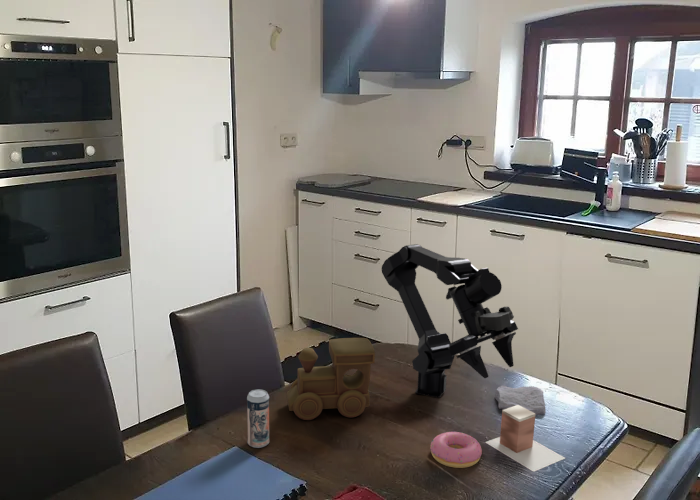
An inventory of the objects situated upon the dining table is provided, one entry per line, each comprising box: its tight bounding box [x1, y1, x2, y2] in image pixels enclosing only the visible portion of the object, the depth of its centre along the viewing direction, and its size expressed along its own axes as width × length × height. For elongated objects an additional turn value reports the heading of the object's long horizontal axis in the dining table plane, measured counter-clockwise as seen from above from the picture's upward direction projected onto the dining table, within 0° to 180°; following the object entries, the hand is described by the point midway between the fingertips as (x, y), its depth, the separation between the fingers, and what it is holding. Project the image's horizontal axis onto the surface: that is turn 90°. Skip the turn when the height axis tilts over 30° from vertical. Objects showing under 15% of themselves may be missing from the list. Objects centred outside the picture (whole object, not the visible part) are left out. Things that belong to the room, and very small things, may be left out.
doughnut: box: [429, 431, 483, 469], centre depth 147 cm, size 11×11×4 cm
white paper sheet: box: [485, 436, 566, 473], centre depth 151 cm, size 14×10×1 cm
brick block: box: [499, 405, 536, 453], centre depth 152 cm, size 5×5×8 cm
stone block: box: [494, 385, 547, 416], centre depth 171 cm, size 12×5×10 cm
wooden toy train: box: [286, 337, 376, 421], centre depth 166 cm, size 20×11×17 cm, turn 99°
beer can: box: [246, 388, 270, 449], centre depth 150 cm, size 5×5×12 cm
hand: (499, 372), depth 158 cm, fingers open, 9 cm apart
